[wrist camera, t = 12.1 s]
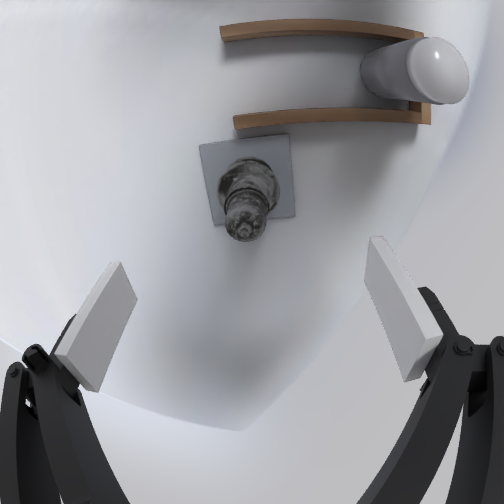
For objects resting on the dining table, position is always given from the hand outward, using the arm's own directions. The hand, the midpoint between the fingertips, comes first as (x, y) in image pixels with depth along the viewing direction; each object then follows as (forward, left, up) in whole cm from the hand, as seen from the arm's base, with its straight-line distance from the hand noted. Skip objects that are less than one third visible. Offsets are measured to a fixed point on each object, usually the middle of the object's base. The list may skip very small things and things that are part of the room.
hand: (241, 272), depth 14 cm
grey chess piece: (0, 0, -17) cm, 17 cm away
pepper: (-11, +15, -17) cm, 25 cm away
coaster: (0, 0, -17) cm, 17 cm away
